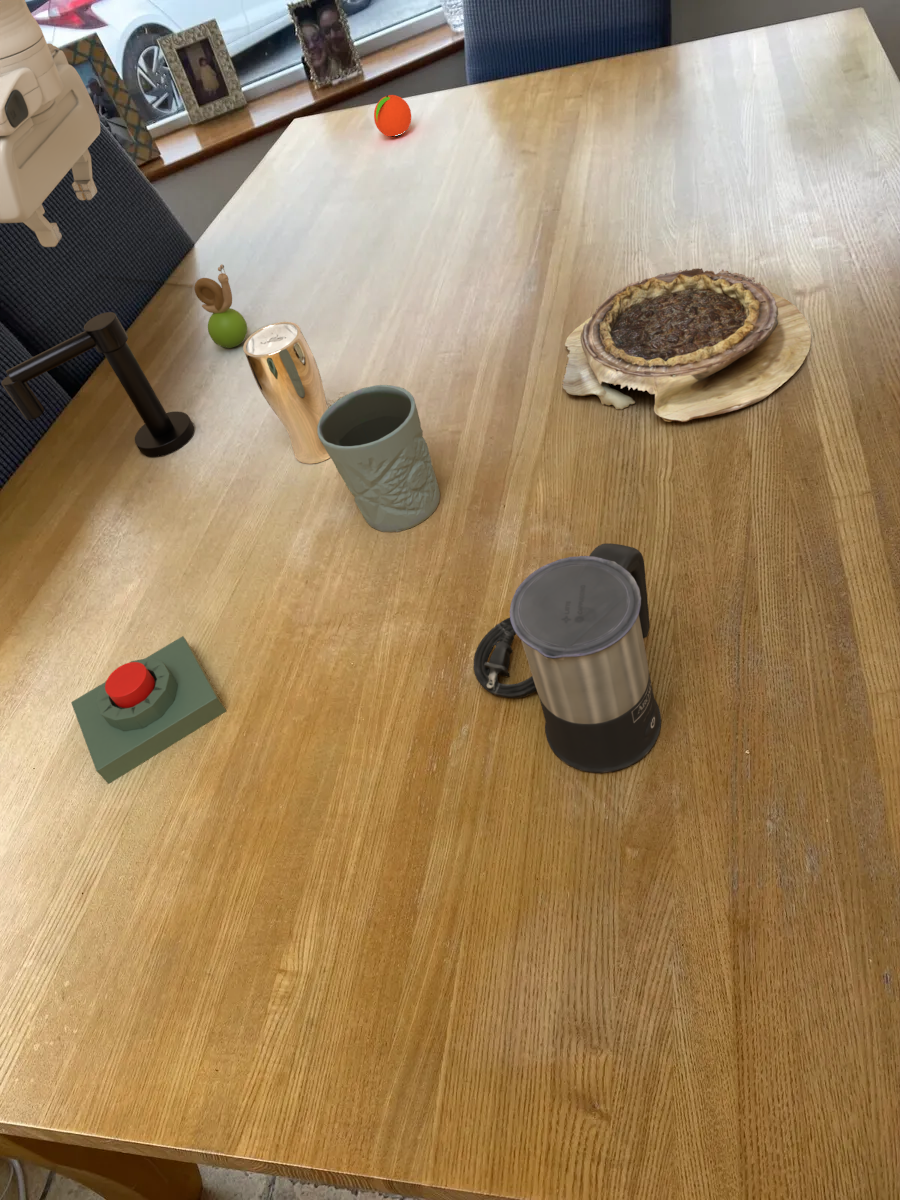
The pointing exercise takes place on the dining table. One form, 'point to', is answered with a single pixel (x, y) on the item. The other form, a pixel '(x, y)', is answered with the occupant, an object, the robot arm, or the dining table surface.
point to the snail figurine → (221, 311)
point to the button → (129, 684)
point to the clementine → (392, 115)
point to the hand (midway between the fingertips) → (71, 219)
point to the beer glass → (290, 385)
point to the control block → (148, 712)
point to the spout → (62, 359)
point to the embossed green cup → (382, 456)
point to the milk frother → (582, 657)
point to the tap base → (150, 408)
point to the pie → (688, 344)
